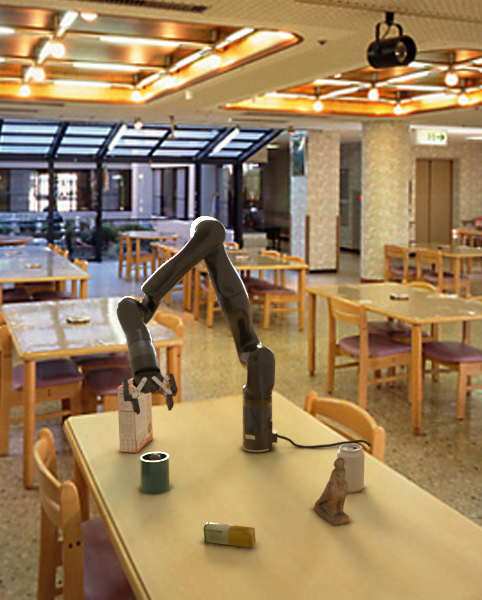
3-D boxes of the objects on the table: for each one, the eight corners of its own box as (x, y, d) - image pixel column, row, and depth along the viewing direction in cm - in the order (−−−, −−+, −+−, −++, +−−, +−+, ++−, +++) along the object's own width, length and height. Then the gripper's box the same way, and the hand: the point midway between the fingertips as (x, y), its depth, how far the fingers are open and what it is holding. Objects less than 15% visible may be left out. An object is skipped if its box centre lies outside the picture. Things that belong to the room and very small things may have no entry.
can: (368, 486, 219) (368, 444, 217) (357, 495, 212) (358, 452, 210) (343, 481, 222) (344, 440, 220) (331, 490, 215) (332, 448, 213)
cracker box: (135, 438, 257) (134, 375, 254) (153, 439, 256) (152, 376, 253) (118, 452, 243) (116, 386, 240) (136, 453, 242) (135, 387, 239)
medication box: (203, 542, 183) (202, 527, 182) (208, 536, 186) (207, 521, 185) (252, 548, 180) (251, 532, 179) (256, 542, 183) (255, 526, 182)
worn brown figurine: (349, 531, 196) (358, 468, 190) (329, 534, 194) (337, 471, 188) (331, 504, 206) (339, 443, 200) (311, 507, 204) (319, 445, 198)
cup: (170, 482, 219) (170, 451, 218) (167, 493, 212) (167, 461, 210) (142, 483, 218) (142, 452, 217) (139, 494, 211) (138, 462, 210)
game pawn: (164, 483, 217) (163, 451, 216) (162, 488, 213) (161, 456, 212) (149, 483, 217) (148, 451, 216) (147, 489, 213) (146, 456, 212)
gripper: (119, 355, 213) (129, 407, 205) (171, 350, 219) (183, 400, 211) (116, 370, 219) (125, 421, 210) (167, 365, 225) (178, 414, 217)
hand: (154, 411), depth 211 cm, fingers open, 8 cm apart
